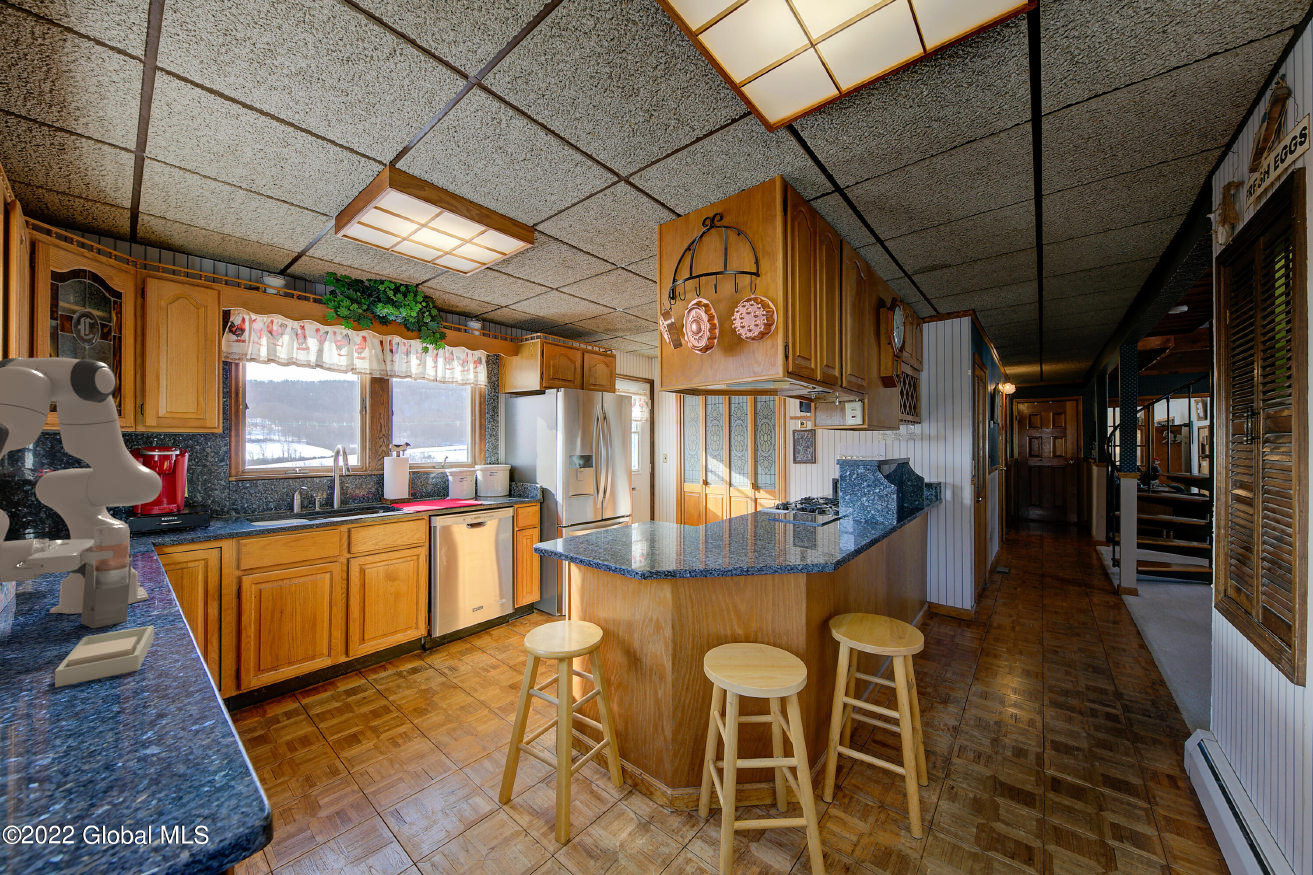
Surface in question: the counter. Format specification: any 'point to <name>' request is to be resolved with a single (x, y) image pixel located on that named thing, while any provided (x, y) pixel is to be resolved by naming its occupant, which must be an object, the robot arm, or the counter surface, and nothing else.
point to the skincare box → (103, 601)
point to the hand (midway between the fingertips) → (116, 550)
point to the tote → (106, 667)
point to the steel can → (116, 567)
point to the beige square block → (103, 651)
